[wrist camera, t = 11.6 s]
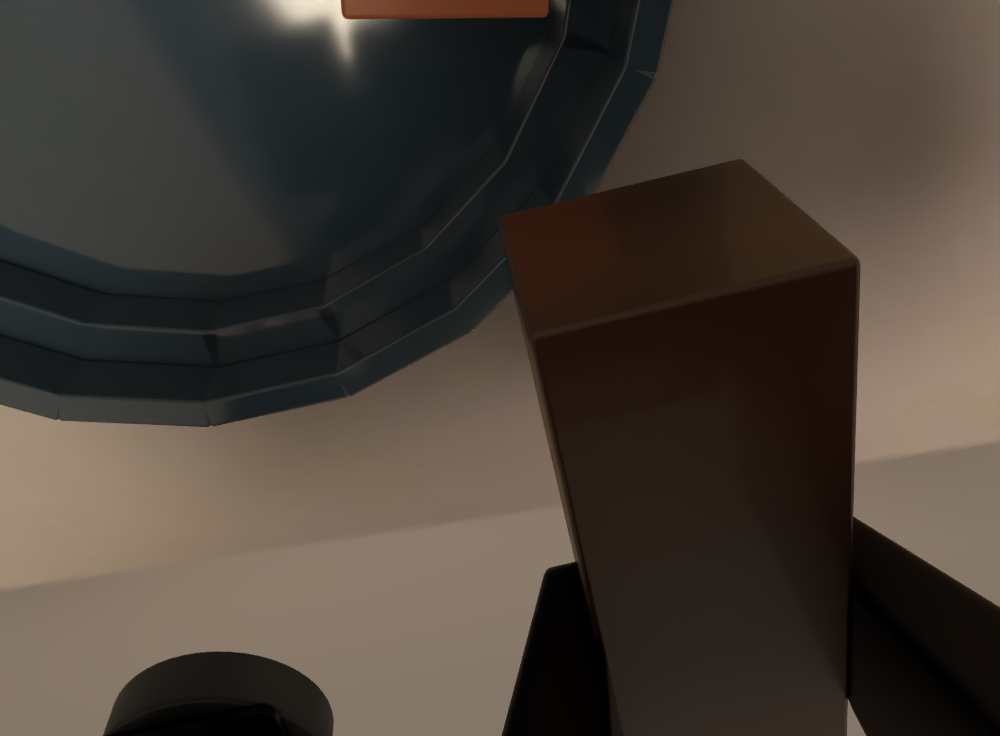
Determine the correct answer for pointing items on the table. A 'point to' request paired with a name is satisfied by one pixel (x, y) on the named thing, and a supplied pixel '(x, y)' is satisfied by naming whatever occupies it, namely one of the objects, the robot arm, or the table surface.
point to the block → (443, 9)
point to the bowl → (279, 190)
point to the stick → (701, 442)
